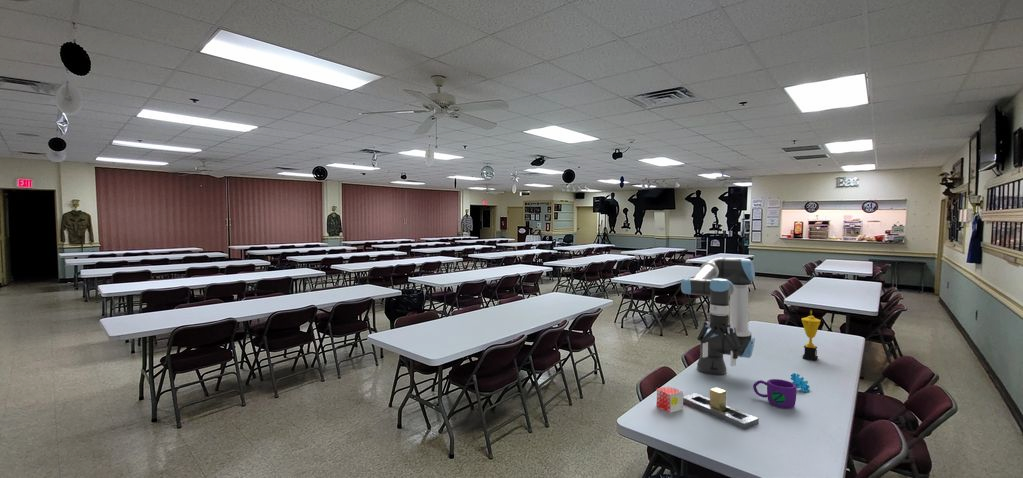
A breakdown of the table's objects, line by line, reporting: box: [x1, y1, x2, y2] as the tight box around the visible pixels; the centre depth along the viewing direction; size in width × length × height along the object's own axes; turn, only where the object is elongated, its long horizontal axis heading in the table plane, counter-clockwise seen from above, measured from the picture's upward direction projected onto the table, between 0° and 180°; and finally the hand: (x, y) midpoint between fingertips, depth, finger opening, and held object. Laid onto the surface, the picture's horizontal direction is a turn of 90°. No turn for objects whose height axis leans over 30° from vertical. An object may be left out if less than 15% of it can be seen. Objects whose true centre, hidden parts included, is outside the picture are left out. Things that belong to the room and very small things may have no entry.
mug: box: [752, 378, 798, 410], centre depth 194 cm, size 17×11×10 cm, turn 45°
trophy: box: [801, 310, 821, 362], centre depth 258 cm, size 19×10×30 cm, turn 138°
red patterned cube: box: [656, 385, 684, 414], centre depth 189 cm, size 8×8×8 cm
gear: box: [790, 372, 811, 393], centre depth 210 cm, size 11×6×10 cm
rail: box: [683, 392, 760, 431], centre depth 184 cm, size 30×10×2 cm, turn 29°
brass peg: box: [709, 387, 727, 413], centre depth 184 cm, size 4×4×10 cm
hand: (718, 361), depth 187 cm, fingers open, 13 cm apart
